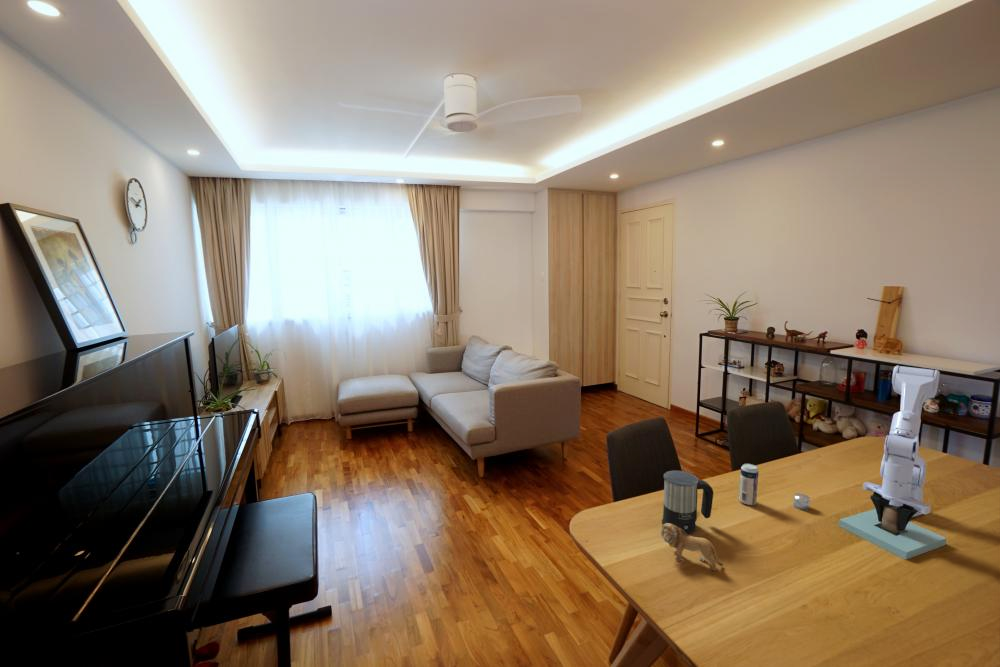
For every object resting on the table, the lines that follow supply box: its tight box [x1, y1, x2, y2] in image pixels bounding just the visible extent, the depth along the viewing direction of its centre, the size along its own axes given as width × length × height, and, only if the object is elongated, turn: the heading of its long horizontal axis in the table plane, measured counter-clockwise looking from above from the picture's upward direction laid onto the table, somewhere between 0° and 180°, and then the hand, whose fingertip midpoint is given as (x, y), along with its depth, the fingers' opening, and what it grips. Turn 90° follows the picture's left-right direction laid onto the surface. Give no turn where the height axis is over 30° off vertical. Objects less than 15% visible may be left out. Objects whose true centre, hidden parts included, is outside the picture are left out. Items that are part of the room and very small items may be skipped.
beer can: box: [738, 463, 760, 506], centre depth 139 cm, size 5×5×12 cm
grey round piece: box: [792, 492, 811, 511], centre depth 137 cm, size 4×4×4 cm
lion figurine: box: [660, 523, 724, 571], centre depth 112 cm, size 15×5×9 cm, turn 71°
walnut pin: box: [881, 504, 901, 536], centre depth 122 cm, size 4×4×7 cm
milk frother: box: [661, 470, 714, 535], centre depth 130 cm, size 14×16×15 cm
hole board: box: [838, 508, 947, 560], centre depth 122 cm, size 17×16×2 cm
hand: (891, 525), depth 122 cm, fingers closed on walnut pin, 4 cm apart
